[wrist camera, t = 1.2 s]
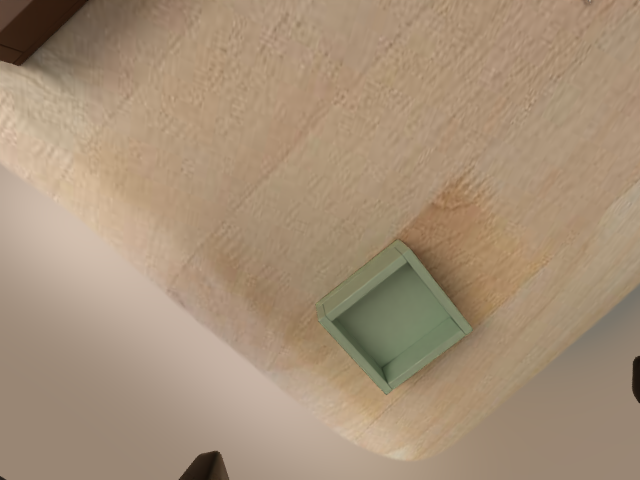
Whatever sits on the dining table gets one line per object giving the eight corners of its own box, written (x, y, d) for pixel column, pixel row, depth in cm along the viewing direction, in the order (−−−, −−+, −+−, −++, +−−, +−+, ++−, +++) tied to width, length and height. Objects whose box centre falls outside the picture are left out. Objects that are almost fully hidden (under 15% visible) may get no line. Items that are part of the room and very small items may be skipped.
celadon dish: (377, 372, 24) (386, 395, 21) (314, 303, 22) (317, 321, 20) (456, 312, 23) (473, 330, 21) (398, 237, 21) (410, 248, 19)
